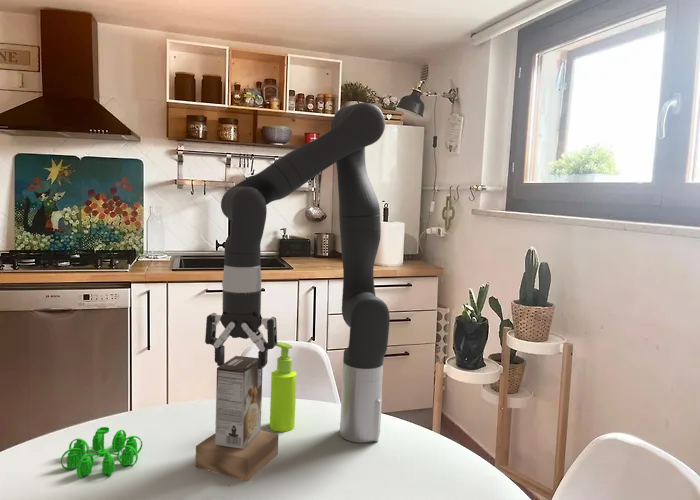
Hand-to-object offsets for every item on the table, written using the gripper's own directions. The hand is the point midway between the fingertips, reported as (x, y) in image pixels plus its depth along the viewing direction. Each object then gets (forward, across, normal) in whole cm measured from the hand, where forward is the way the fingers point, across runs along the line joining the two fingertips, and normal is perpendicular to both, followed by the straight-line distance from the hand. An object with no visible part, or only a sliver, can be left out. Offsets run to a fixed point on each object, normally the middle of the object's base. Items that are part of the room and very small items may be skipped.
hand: (240, 366), depth 108 cm
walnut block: (+20, 0, 0) cm, 21 cm away
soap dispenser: (+20, -4, -18) cm, 27 cm away
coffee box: (+16, 0, -1) cm, 16 cm away
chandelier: (+20, +26, +6) cm, 34 cm away
